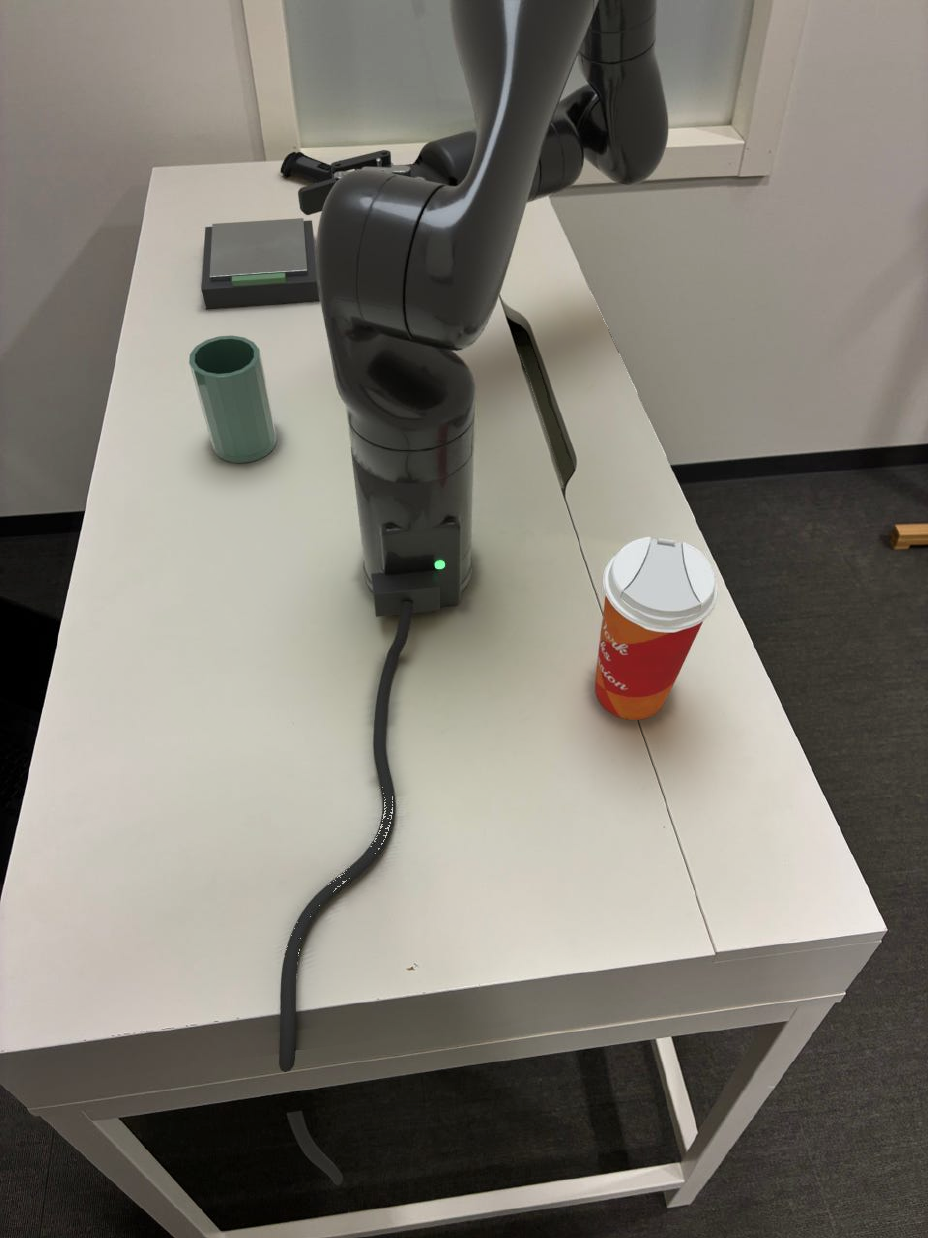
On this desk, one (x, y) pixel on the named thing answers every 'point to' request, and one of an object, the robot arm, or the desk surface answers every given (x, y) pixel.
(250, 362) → the tumbler
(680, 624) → the paper cup
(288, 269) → the scale
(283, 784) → the desk surface
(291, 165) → the electric trimmer
